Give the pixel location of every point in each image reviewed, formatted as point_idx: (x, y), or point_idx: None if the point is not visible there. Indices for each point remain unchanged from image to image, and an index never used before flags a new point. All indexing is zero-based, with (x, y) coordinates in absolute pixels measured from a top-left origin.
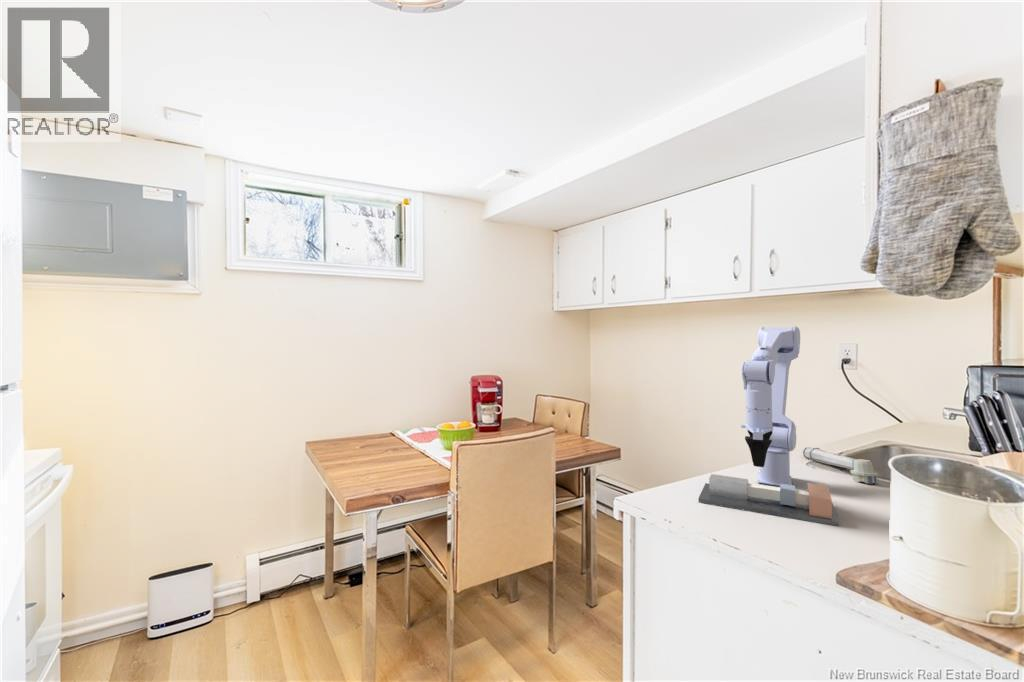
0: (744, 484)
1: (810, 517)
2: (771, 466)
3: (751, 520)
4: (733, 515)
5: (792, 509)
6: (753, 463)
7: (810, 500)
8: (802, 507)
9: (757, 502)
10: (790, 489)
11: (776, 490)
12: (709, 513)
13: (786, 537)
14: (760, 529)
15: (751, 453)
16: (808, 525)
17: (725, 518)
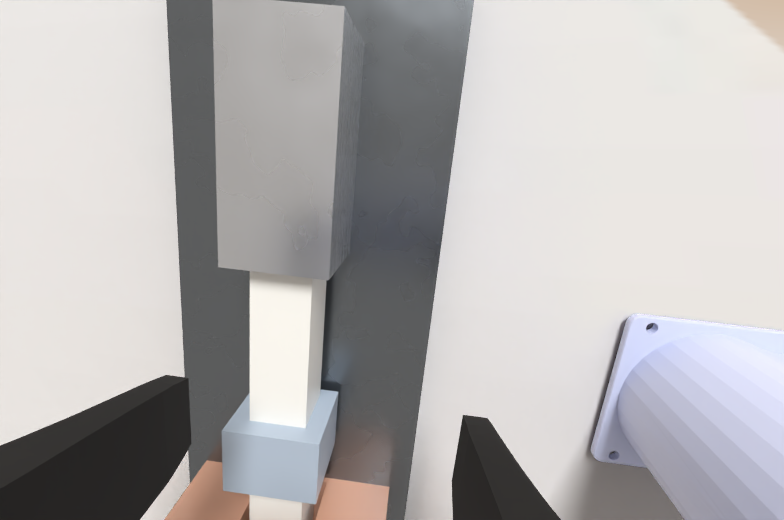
0: (219, 251)
1: (189, 457)
2: (684, 451)
3: (88, 243)
4: (100, 170)
5: None
6: (141, 385)
7: (166, 517)
8: None
9: None
10: (238, 474)
11: (252, 405)
12: (59, 54)
13: (5, 348)
14: (18, 270)
15: (11, 445)
16: None
17: (44, 133)
